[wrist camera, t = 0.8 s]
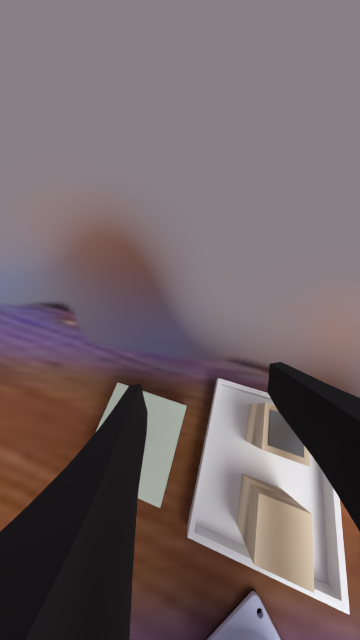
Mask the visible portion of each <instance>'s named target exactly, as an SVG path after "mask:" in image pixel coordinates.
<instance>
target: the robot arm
mask: <svg viewBox="0 0 360 640" xmlns="http://www.w3.org/2000/svg"><path fill="white" fill-rule="evenodd" d="M268 394H269V396H270V398H271V400H272V401H273V403H274V405H275V406H276V408H277V410H278V411H279V413H280V414H281V415H282V417H283V418H284V419H285V421H286V422H287V423H288V425H289V426H290V427H291V429H292V430H293V431H294V433H295V434H296V435H297V437H298V438H299V439H300V441H301V442H302V443H303V445H304V446H305V447H306V449H307V450H308V451H309V453H310V454H311V455H312V457H313V458H314V460H315V461H316V462H317V464H318V465H319V467H320V468H321V470H322V471H323V473H324V475H325V476H326V478H327V479H328V481H329V482H330V484H331V485H332V487H333V489H334V490H335V492H336V493H337V495H338V497H339V498H340V500H341V501H342V503H343V505H344V506H345V508H346V510H347V511H348V513H349V515H350V516H351V518H352V519H353V521H354V523H355V524H356V526H357V528H358V529H359V531H360V398H358V397H356V396H354V395H351V394H349V393H347V392H344V391H342V390H340V389H337V388H335V387H333V386H331V385H329V384H326V383H324V382H322V381H319V380H318V379H316V378H314V377H312V376H309V375H307V374H305V373H303V372H301V371H299V370H297V369H295V368H293V367H290V366H288V365H286V364H284V363H281V362H278V363H272V364H270V368H269V382H268ZM147 417H148V412H147V408H146V404H145V400H144V396H143V391H142V387H141V384H137V385H131V386H129V387H128V388H127V390H126V391H125V393H124V394H123V395H122V397H121V398H120V400H119V401H118V403H117V404H116V406H115V407H114V409H113V410H112V411H111V413H110V414H109V415H108V417H107V418H106V420H105V421H104V422H103V424H102V425H101V426H100V427H99V429H98V430H97V431H96V433H95V434H94V435H93V436H92V438H91V439H90V440H89V441H88V443H87V444H86V445H85V446H84V447H83V449H82V450H81V451H80V452H79V453H78V454H77V456H76V457H75V458H74V459H73V460H72V461H71V462H70V463H69V464H68V466H67V467H66V468H65V469H64V470H63V471H62V472H61V473H60V474H59V475H58V476H57V477H56V478H55V479H54V480H53V481H52V482H51V483H50V484H49V485H48V486H47V487H46V488H45V489H44V490H43V491H42V492H41V493H40V494H39V495H38V496H37V497H36V499H34V500H33V501H32V502H31V503H30V504H29V505H28V506H27V507H26V508H25V509H24V510H23V511H22V512H21V513H20V514H19V515H18V516H17V517H16V518H15V519H14V520H13V521H11V522H10V523H9V524H8V525H7V526H6V527H5V528H4V529H3V530H2V531H1V532H0V640H129V637H130V614H131V594H132V575H133V558H134V542H135V526H136V513H137V499H138V491H139V483H140V476H141V469H142V463H143V456H144V449H145V442H146V435H147ZM258 608H261V613H260V614H258V613H257V609H258ZM207 640H281V639H280V637H279V635H278V633H277V631H276V629H275V627H274V625H273V623H272V621H271V619H270V617H269V615H268V613H267V611H266V609H265V607H264V605H263V603H262V601H261V600H260V598H259V596H258V594H257V593H256V592H254V591H252V592H250V593H249V594H248V595H247V597H246V598H245V599H244V600H243V601H242V602H241V603H240V604H239V605H238V606H237V607H236V609H235V610H234V611H233V612H232V613H231V614H230V615H229V616H228V617H227V618H226V619H225V621H224V622H223V623H222V624H221V625H220V626H219V627H218V628H217V629H216V630H215V631H214V633H213V634H212V635H211V636H210V637H209V638H208V639H207Z"/></svg>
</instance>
